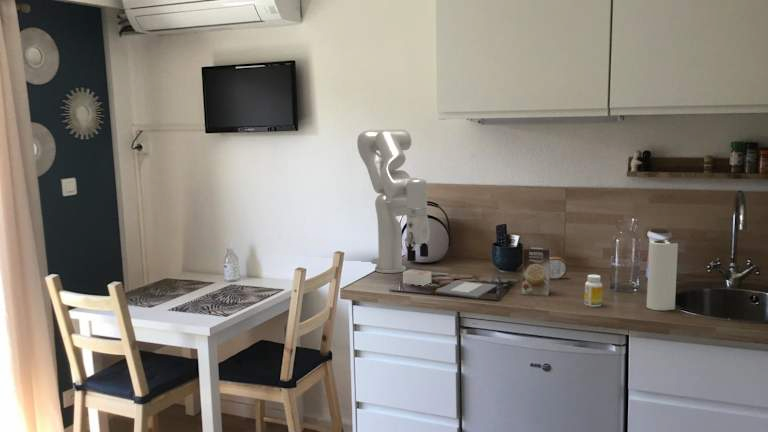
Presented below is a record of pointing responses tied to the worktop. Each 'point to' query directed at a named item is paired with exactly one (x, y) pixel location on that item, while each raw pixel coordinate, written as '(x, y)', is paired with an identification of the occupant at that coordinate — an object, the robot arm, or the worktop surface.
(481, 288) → the mat
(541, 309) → the worktop surface
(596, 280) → the supplement bottle
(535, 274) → the coffee box
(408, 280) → the card box
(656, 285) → the paper towel roll
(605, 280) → the worktop surface
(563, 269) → the tin
